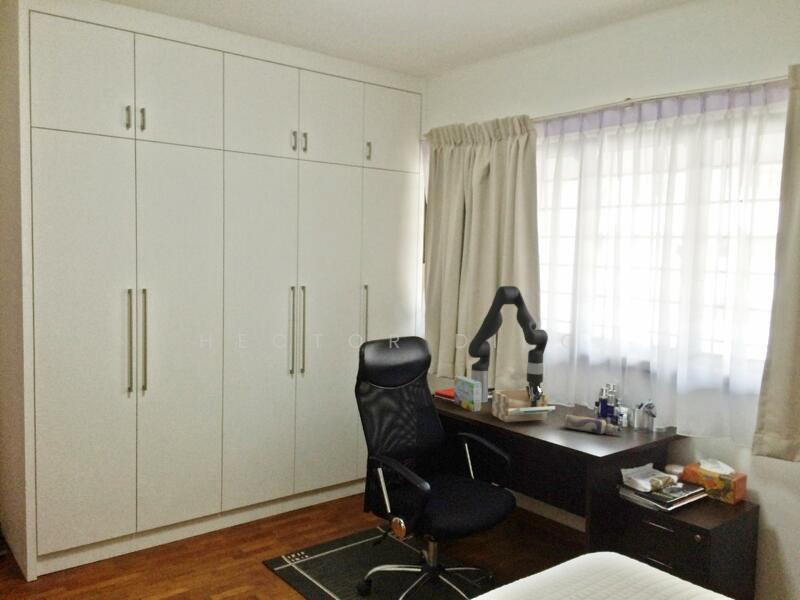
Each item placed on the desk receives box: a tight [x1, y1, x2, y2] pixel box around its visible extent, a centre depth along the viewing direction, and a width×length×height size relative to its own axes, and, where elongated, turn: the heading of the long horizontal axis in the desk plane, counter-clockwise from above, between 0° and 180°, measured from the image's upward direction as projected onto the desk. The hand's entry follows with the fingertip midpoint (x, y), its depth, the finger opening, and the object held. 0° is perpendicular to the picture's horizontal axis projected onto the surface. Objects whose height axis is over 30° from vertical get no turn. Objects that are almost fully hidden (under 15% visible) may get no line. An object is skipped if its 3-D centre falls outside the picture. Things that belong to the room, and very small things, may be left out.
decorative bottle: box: [563, 414, 623, 435], centre depth 306 cm, size 26×8×7 cm, turn 56°
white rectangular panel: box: [509, 405, 556, 415], centre depth 320 cm, size 2×18×12 cm
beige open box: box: [491, 388, 548, 423], centre depth 333 cm, size 16×22×12 cm
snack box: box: [453, 375, 482, 413], centre depth 352 cm, size 21×6×15 cm, turn 23°
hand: (533, 408), depth 318 cm, fingers closed
